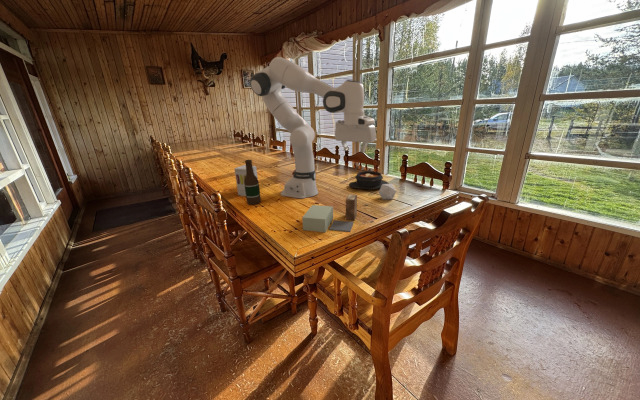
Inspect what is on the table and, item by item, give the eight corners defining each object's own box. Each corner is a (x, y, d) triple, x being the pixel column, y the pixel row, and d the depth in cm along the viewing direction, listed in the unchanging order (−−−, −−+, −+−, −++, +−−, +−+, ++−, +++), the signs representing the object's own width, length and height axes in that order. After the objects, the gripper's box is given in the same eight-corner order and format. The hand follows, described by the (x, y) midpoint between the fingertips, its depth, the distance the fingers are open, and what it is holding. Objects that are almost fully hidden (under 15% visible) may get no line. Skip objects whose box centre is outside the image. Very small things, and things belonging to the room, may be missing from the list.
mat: (329, 229, 110) (329, 229, 109) (334, 220, 118) (334, 220, 117) (350, 232, 107) (350, 231, 107) (353, 222, 115) (353, 221, 115)
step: (303, 229, 110) (302, 217, 108) (313, 216, 123) (312, 205, 121) (325, 232, 108) (325, 219, 105) (333, 218, 120) (333, 206, 118)
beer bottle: (248, 200, 146) (242, 159, 138) (262, 199, 147) (256, 158, 138) (245, 205, 139) (239, 162, 131) (260, 204, 140) (254, 161, 131)
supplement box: (237, 195, 155) (233, 168, 149) (247, 190, 163) (243, 164, 157) (250, 197, 152) (246, 169, 146) (259, 192, 160) (256, 165, 154)
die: (392, 203, 136) (401, 187, 136) (377, 195, 136) (386, 179, 136) (387, 203, 144) (396, 188, 144) (374, 195, 144) (382, 180, 144)
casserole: (353, 193, 151) (353, 179, 148) (345, 184, 169) (345, 171, 166) (393, 189, 155) (394, 176, 152) (381, 181, 172) (382, 168, 169)
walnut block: (345, 220, 118) (345, 199, 114) (348, 213, 124) (348, 194, 121) (354, 220, 117) (354, 199, 113) (356, 214, 123) (357, 194, 119)
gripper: (331, 120, 118) (332, 150, 123) (370, 120, 105) (369, 154, 110) (339, 119, 122) (340, 148, 127) (377, 119, 109) (377, 151, 114)
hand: (354, 151), depth 118 cm, fingers open, 8 cm apart
